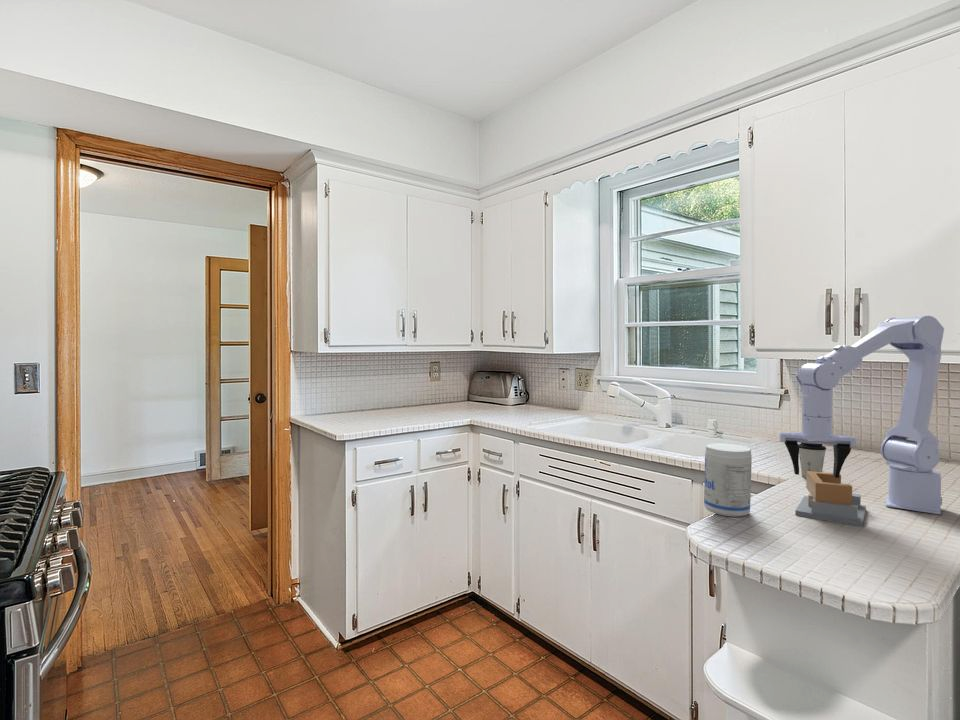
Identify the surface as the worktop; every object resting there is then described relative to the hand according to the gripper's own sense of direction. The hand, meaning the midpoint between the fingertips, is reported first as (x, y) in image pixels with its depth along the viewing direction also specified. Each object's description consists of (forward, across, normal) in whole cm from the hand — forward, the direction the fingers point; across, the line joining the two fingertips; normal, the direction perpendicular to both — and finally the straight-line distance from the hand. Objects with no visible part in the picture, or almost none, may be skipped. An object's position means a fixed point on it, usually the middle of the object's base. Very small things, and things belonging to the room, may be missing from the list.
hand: (816, 475), depth 118 cm
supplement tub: (+8, +19, +9) cm, 22 cm away
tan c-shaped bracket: (+5, -2, 0) cm, 5 cm away
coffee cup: (+8, -4, -34) cm, 35 cm away
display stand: (+8, -3, +1) cm, 9 cm away
